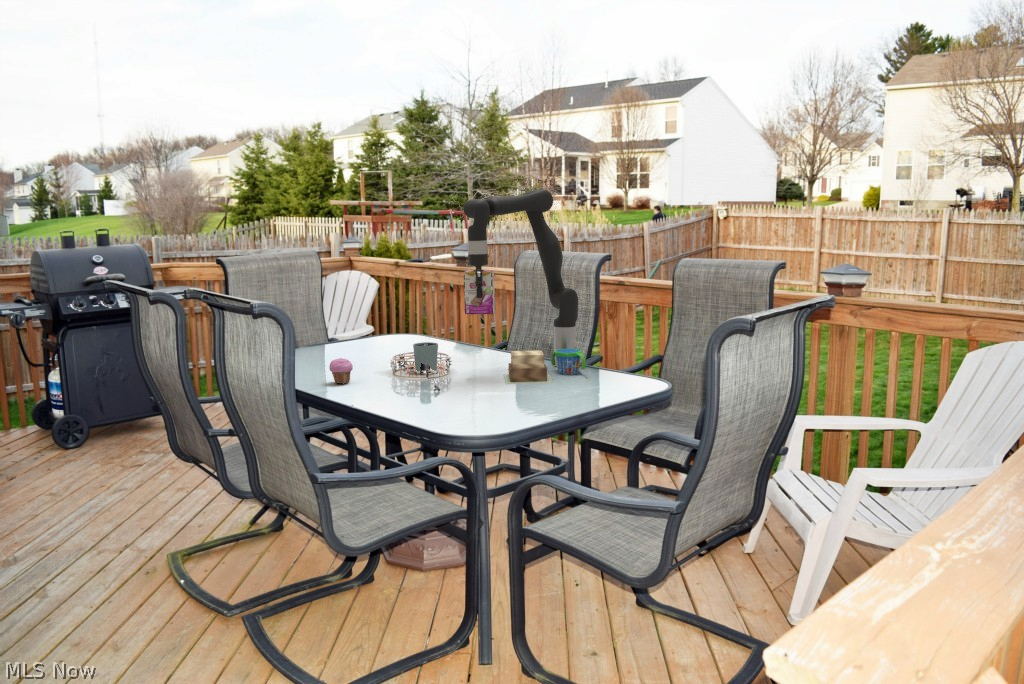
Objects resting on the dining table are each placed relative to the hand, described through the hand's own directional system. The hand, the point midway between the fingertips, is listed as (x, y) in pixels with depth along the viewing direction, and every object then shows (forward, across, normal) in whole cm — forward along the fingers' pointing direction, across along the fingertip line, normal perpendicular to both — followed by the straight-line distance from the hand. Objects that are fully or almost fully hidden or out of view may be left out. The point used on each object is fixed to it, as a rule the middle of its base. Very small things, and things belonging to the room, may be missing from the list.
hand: (479, 296), depth 300 cm
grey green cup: (+33, +19, +23) cm, 44 cm away
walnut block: (+32, -4, -17) cm, 36 cm away
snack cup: (+34, +5, -34) cm, 48 cm away
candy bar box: (+7, 0, 0) cm, 7 cm away
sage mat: (+33, -4, -17) cm, 38 cm away
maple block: (+27, -4, -17) cm, 32 cm away
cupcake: (+32, +2, +55) cm, 64 cm away
